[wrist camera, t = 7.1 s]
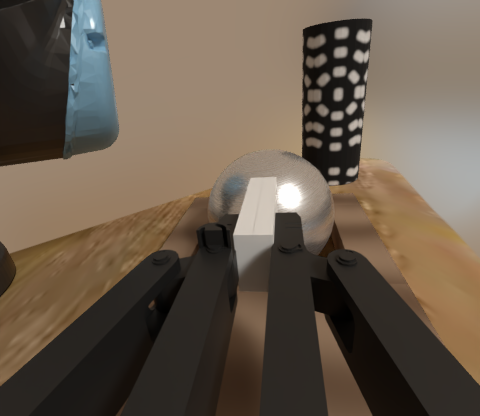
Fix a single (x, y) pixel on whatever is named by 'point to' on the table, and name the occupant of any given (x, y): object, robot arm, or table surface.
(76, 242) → the table surface
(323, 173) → the white-spotted black cylinder
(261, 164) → the steel ball
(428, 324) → the brown wooden frame
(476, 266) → the table surface
